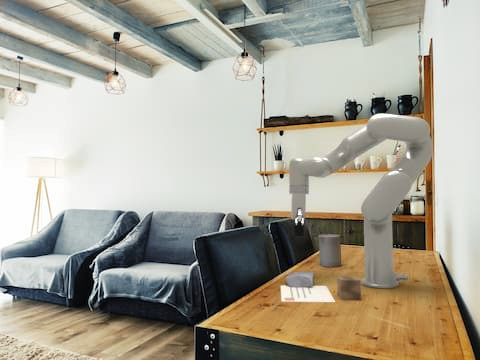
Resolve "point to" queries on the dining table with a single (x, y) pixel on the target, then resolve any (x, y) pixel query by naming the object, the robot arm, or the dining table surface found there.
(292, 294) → the letter
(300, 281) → the stone block
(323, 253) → the pillar candle
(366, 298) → the dining table surface
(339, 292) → the walnut cube
